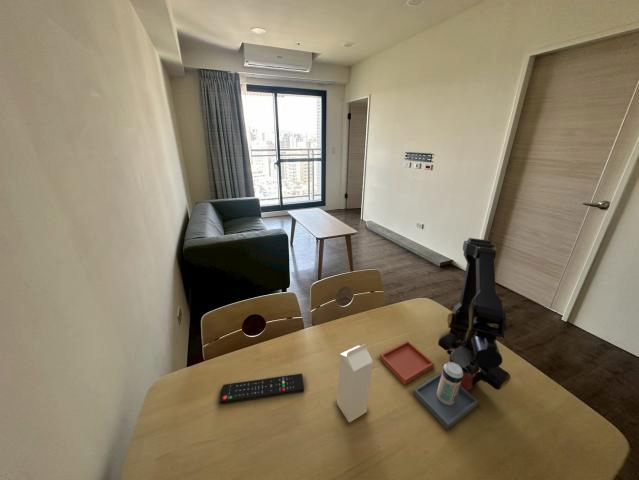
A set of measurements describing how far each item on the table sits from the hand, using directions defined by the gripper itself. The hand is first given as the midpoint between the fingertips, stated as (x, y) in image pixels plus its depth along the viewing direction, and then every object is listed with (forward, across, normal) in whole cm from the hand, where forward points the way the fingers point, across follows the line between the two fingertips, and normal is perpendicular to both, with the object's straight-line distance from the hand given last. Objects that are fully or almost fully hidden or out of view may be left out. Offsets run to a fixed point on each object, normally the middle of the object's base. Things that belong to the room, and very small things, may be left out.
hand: (464, 378), depth 78 cm
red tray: (+1, -14, -11) cm, 17 cm away
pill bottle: (+1, +1, -11) cm, 11 cm away
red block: (+1, 0, 0) cm, 1 cm away
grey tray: (+1, +1, -11) cm, 11 cm away
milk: (+1, -10, -36) cm, 37 cm away
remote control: (+1, -27, -56) cm, 62 cm away
